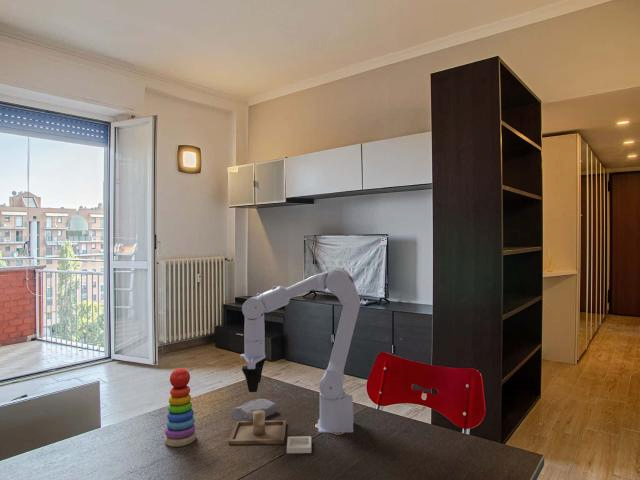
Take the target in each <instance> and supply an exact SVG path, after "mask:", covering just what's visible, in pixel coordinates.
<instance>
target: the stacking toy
mask: <svg viewBox="0 0 640 480" xmlns="http://www.w3.org/2000/svg"><path fill="white" fill-rule="evenodd" d="M190 379H191V373H189V371H188V370H187V369H186V368H183V367H180V368H178V367H177V368H176V369H174V370H173V371H172V372H171V374H170V375H169V382H170V384H171V386H172V388H170V390H169V393H170V396H169V398H168V403H169V404H168V406H167V410H168V413H167V415H166V417H167V421H166V427H165V430H164V434H165V436H164V443H165V444H166V445H167V446H169V447H174V448H176V447H184V446H187V445H189V444H191V443H193V442H194V441H195V440H196V438H197V431H196V425H195V424H194V423H195V421H196V419H195V417H194V409H193V402H192V401H191V400H192V396H191V394H190V393H191V392H190V391H191V388H190V386H188V384H189V383H190Z"/></svg>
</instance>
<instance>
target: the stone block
mask: <svg viewBox="0 0 640 480" xmlns="http://www.w3.org/2000/svg"><path fill="white" fill-rule="evenodd" d="M257 410H263V411H265V418H268V417H269V416H273V415H275V413H276V412H277V410H278V406H277V403H276V402H273V401H271V400H269V399H266V398H255V399H250V400H248V401H246V402H244V403H242V405H239V406H236V407H232V408H231V412H230V416H231V419H234V420H236V421H253V412H254V411H257Z"/></svg>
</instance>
